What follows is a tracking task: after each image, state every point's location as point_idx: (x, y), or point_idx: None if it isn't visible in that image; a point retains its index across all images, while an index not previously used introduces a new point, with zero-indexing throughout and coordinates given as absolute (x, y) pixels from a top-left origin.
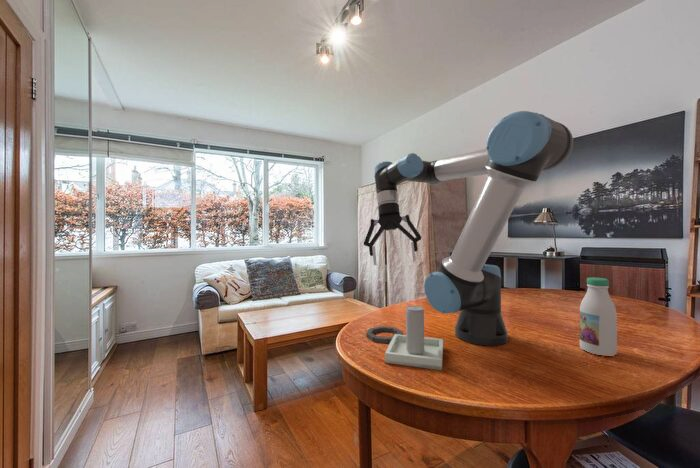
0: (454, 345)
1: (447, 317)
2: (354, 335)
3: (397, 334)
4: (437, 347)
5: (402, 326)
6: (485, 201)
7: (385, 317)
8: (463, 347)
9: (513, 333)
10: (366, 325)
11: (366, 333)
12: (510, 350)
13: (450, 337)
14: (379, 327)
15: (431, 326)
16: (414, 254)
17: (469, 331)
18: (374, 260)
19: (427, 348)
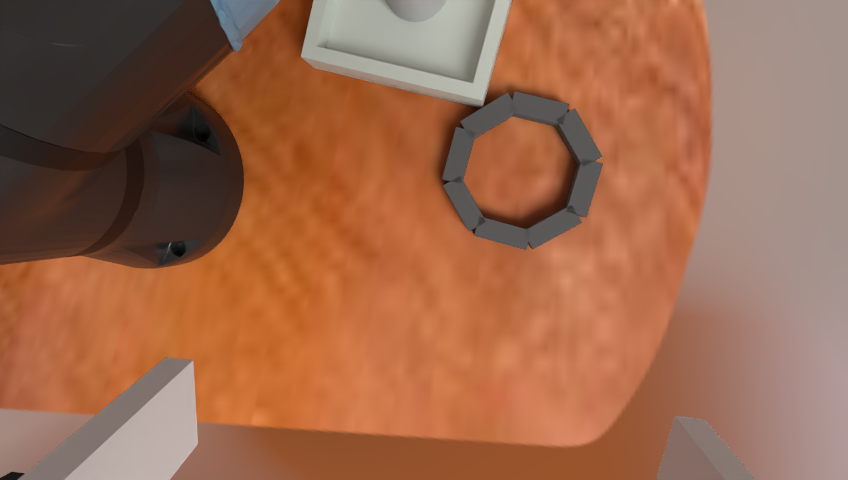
0: (271, 90)
1: (225, 400)
2: (652, 177)
3: (471, 95)
4: (334, 37)
5: (431, 289)
6: None
7: (497, 416)
8: (246, 74)
9: None
10: (595, 305)
11: (601, 164)
12: None
13: (266, 166)
14: (539, 232)
15: (312, 288)
16: (107, 410)
17: (187, 108)
18: (725, 459)
19: (370, 25)
